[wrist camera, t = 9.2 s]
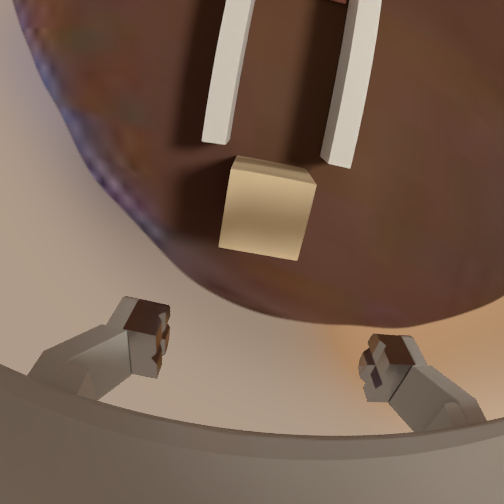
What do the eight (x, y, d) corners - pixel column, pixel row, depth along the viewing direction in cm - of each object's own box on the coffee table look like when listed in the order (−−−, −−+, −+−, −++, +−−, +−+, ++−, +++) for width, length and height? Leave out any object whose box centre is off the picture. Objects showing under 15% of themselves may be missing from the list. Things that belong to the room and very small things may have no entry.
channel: (252, -79, 14) (250, -97, 11) (375, -52, 14) (388, -67, 12) (208, 136, 22) (201, 141, 19) (339, 160, 22) (350, 168, 20)
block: (237, 155, 23) (230, 168, 18) (305, 168, 23) (316, 184, 18) (226, 219, 25) (218, 247, 20) (290, 230, 25) (297, 260, 21)
